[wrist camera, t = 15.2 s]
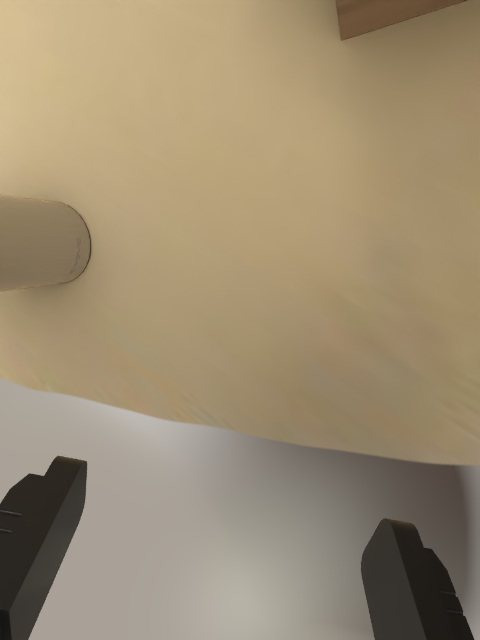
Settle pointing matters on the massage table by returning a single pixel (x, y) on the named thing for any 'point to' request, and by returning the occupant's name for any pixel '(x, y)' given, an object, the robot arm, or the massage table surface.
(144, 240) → the massage table surface
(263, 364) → the massage table surface
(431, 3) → the plinth
